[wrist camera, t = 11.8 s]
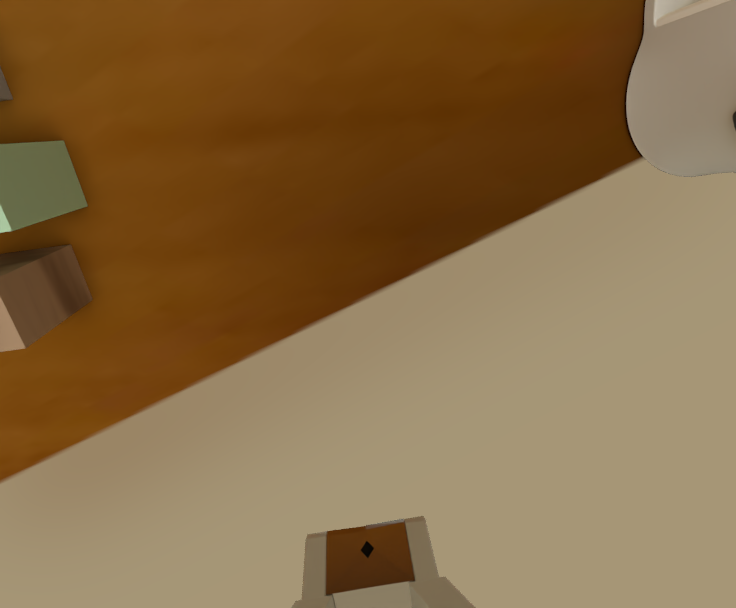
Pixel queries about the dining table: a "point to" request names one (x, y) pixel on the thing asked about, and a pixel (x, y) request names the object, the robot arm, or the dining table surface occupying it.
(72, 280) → the walnut block
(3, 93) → the grey block
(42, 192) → the sage brick
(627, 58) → the dining table surface
